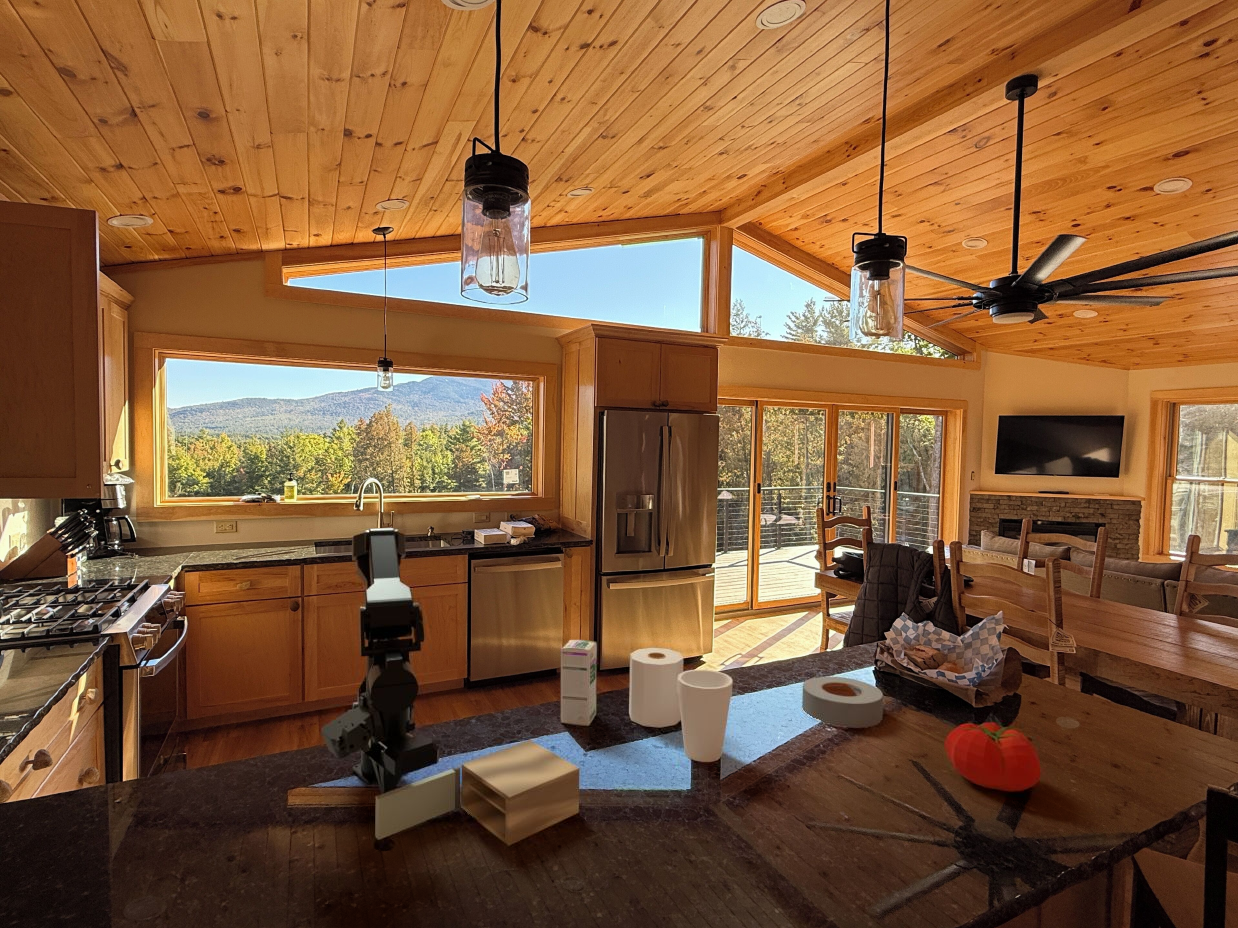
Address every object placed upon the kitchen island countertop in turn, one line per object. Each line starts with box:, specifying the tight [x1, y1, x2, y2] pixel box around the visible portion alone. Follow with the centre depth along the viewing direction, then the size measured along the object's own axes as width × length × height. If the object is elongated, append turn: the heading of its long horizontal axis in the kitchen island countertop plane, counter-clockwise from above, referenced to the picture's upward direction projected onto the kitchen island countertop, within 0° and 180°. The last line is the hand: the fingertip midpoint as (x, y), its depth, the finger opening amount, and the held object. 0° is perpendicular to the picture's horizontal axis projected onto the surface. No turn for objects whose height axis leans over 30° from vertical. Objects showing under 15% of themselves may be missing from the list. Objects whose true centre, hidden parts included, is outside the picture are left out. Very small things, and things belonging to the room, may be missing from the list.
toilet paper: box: [628, 647, 684, 729], centre depth 131 cm, size 10×10×12 cm
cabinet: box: [460, 739, 580, 847], centre depth 97 cm, size 12×12×6 cm
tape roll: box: [801, 676, 884, 727], centre depth 135 cm, size 15×15×5 cm
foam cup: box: [677, 669, 733, 763], centre depth 116 cm, size 10×9×13 cm
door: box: [374, 766, 461, 841], centre depth 93 cm, size 12×1×6 cm, turn 134°
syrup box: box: [560, 639, 598, 727], centre depth 129 cm, size 6×6×14 cm
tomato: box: [944, 722, 1042, 792], centre depth 108 cm, size 14×13×9 cm
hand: (387, 796), depth 94 cm, fingers closed
